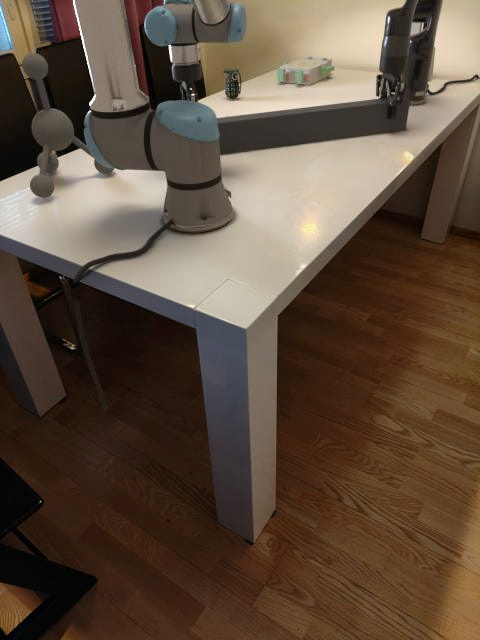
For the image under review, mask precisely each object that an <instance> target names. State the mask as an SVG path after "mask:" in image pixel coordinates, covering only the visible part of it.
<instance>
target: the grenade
mask: <svg viewBox="0 0 480 640" xmlns="http://www.w3.org/2000/svg"><path fill="white" fill-rule="evenodd" d="M221 72H222V73H223V74H226V76H227V77H226V78H225V80H224V81H225V82H224V94H225V97H226V98H227V99H229V100H237V98H238V97H239V96H240V95H241V92H242V74H241V73H240V71H239V69H237V68H224V69H222V71H221ZM236 76H237V77H236Z"/></svg>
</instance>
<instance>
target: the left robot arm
mask: <svg viewBox="0 0 480 640" xmlns="http://www.w3.org/2000/svg"><path fill="white" fill-rule="evenodd" d="M72 1H73V6H74V11H75V15H76V18H77V23H78V27H79V31H80V36H81V40H82V45H83V49H84V53H85V57H86V61H87V62H86V63H87V66H88V70H89V75H90V79H91V82H92V88H93V92H94V96H93V98H92V99H91V101H90V102H89V111H88V112H87V113H86V115H85V118H84V120H83V121H84V122H83V125H84V129H83V134H84V141H85V145H86V146H87V147H88V149H89V151H90V153H91V155H92V156H93V157H92V158H93V159H95V160H96V161H97V162H98V163H99V164H101V165H102V166H104V167H107V168H115V169H114V170H118V171H129V170H130V171H149V172H151V171H153V172H164V174H165V180H166V190H165V191H166V192H165V196H164V203H163V207H162V218H163V222H164V225H162V226H161V227H160V228H159V229H157V230H156V231H155V232H154V233H153V234H152V235H150V237H149V238H148V239H147V240H146V243H145V244H144V245H143V246H142V247H140V248H138V249H136V250H131V251H126V252H118V253H112V254H108V255H106V256H105V255H104V256H102V257H99V258H95V259H92V260H90V261H88V262H87V263H85V264H83V265H82V266H81V267H80V268H79V269H78V270H77V272H76V274H75V276H74V278H73V280H72V281H73V283H78V282H79V281H80V280H81V279H82V277H83V275H84V274H85V272H86V271H87V270H88V269H91V268H92V267H94V266H97V265H100V264H104V263H107V262H109V261H112V260H117V259H125V258H132V257H137V256H139V255H142V254H143V253H145V252H146V251H148V250H149V248H150V247H151V245H152V244H153V242H154V241H155V240H156V239H157V238H158V237H159V236H160V235H162V234H163V233H164V232H165V231H166V230H167V229H171V230H173V231H177V232H180V233H190V234H191V233H192V234H193V233H194V234H195V233H196V234H197V233H205V232H206V233H207V232H210V231H215V230H216V229H220V228H222V227H224V226H226V225H227V224H228V223H230V221H231V220H232V218H233V216H234V212H233V211H234V210H233V205H232V201H231V200H230V198H231V199H232V191H230V190H229V189H227V188H226V187H225V184H224V182H223V175H222V174H223V173H222V161H221V159H222V158H221V155H220V145H219V137H220V135H219V130H218V124H217V118H218V117H217V114H216V112H215V111H214V109H212V108H211V107H209V106H208V105H206V104H205V103H201V102H199V95H198V87H196V85H195V81H199V80H201V79H202V77H203V74H202V64H201V62H199V61H200V60H201V54H200V51H202V47H201V46H200V44H212V43H213V44H229V43H240V42H242V41H243V40H245V37H246V34H247V26H248V25H247V23H248V22H247V21H248V20H247V11H246V6H245V5H244V4H243V3H241V2H235V1H232V2H231V0H163V4H162V5H157V6H155V7H153V9H151V10H149V12H147V14H146V16H145V18H144V32H145V34H146V36H147V38H148V40H149V41H150V42H151V43H152V44H154V45H155V46H157V47H166V46H167V47H168V50H169V59H170V62H171V63H172V64H171V72H172V73H171V74H172V79H173V81H175V82H179V83H180V87H179V88H180V90H179V91H180V94H181V99H178V100H167V101H163V102H160V103H159V104H158V105H157V106H156V109H152V107H151V104H150V98H149V96H148V95H147V94H146V93H145V92H143V91H142V90H141V89H140V86H139V80H138V74H137V68H136V67H137V66H136V62H135V57H134V51H133V46H132V40H131V33H130V29H129V23H128V17H127V12H126V6H125V0H72ZM73 304H74V311H75V313H74V314H75V318H76V326H77V331H78V335H79V340H80V343H81V348H82V351H83V355H84V358H85V360H86V363H87V366H88V369H89V371H90V372H89V373H90V374H91V377H92V380H93V383H94V385H95V389H96V391H97V394H98V397H99V400H100V403H101V406H102V410H103V411H107V410H108V404H107V402H106V398H105V395H104V391H103V389H102V386H101V385H102V384H101V383H100V380H99V377H98V374H97V372H96V369H95V366H94V362H93V360H92V357H91V354H90V351H89V347H88V343H87V340H86V336H85V330H84V324H83V320H82V319H83V318H82V311H81V303H80V301H78V300H75V299H74V300H73Z"/></svg>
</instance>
